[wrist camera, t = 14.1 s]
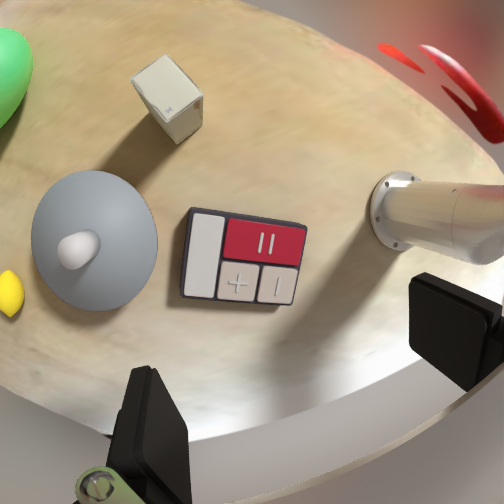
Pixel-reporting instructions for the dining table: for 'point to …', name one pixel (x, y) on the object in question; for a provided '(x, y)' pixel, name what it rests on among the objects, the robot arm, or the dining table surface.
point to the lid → (94, 240)
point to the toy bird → (13, 71)
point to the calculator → (241, 258)
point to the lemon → (10, 293)
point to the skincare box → (170, 97)
